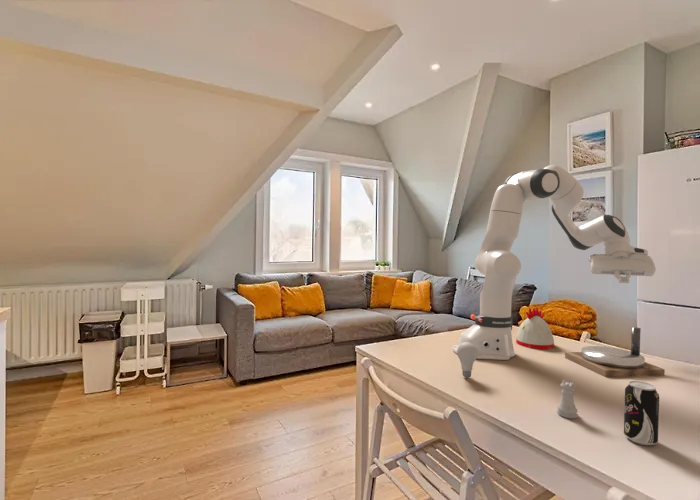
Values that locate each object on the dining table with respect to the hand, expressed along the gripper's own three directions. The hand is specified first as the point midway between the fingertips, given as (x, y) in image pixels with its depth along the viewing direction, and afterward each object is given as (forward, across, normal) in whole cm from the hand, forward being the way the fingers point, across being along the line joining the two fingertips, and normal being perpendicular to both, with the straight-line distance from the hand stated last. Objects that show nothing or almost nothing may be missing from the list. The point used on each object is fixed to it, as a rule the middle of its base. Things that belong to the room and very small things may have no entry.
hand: (624, 281), depth 139 cm
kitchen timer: (+20, -30, +19) cm, 40 cm away
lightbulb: (+56, -49, -18) cm, 77 cm away
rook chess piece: (+66, -24, -28) cm, 76 cm away
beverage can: (+71, -11, -32) cm, 78 cm away
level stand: (+32, -6, +6) cm, 33 cm away
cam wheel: (+30, -6, +5) cm, 32 cm away
